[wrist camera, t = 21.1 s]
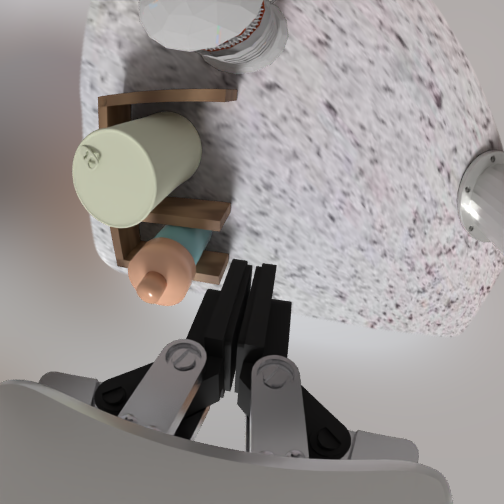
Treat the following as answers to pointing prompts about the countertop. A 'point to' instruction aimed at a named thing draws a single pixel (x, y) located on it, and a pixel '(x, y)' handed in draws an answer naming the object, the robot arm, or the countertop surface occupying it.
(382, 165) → the countertop surface
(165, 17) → the french press
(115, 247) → the caddy
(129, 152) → the can
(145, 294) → the lid
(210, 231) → the jar
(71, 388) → the robot arm
